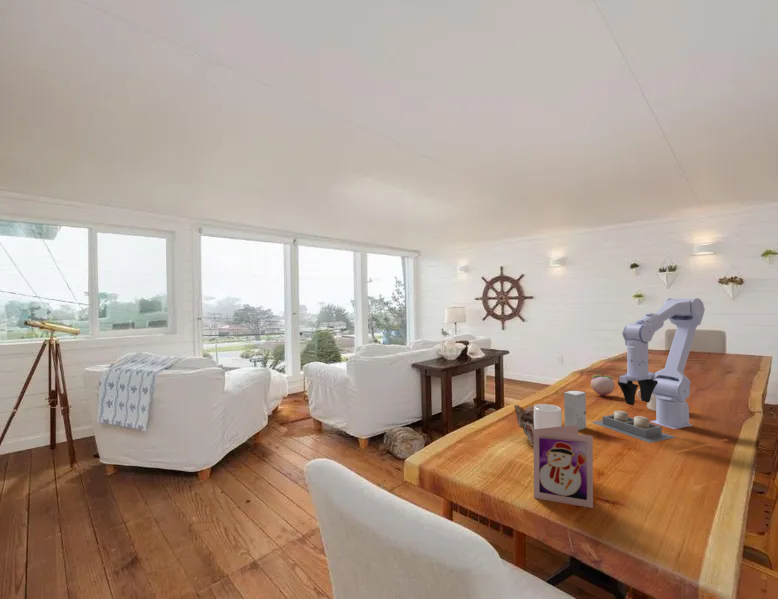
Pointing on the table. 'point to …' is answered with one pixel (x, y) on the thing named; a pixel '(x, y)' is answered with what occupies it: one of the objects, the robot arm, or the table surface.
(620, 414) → the beige round piece
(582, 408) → the skincare box
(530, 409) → the seed pod
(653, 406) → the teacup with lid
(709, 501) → the table surface
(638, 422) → the cream cylinder
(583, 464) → the greeting card
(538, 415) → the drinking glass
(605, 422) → the gray compartment tray
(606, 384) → the decorative fruit
